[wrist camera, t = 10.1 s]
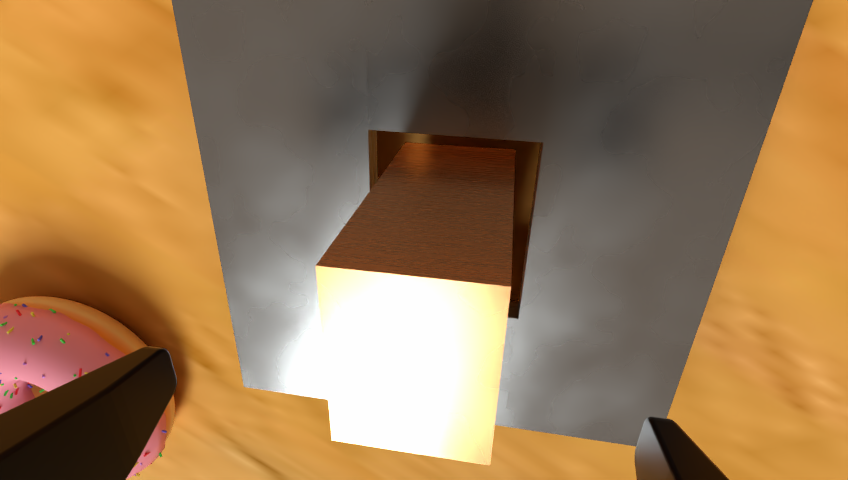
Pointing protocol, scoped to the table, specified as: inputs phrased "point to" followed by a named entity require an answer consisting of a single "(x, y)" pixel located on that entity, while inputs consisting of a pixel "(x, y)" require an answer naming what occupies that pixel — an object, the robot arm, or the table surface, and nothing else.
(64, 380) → the doughnut
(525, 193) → the table surface
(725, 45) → the slotted plate
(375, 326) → the square wooden peg
